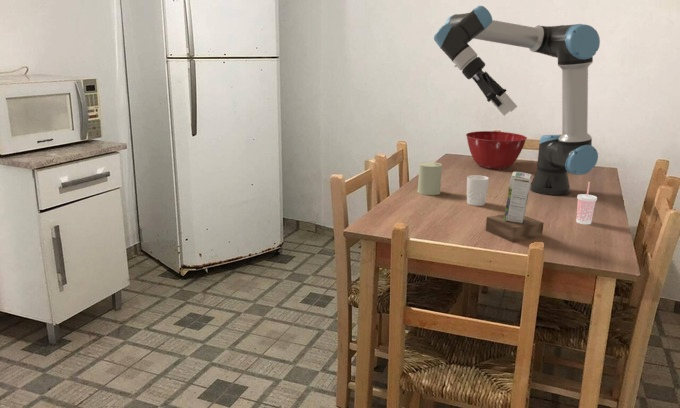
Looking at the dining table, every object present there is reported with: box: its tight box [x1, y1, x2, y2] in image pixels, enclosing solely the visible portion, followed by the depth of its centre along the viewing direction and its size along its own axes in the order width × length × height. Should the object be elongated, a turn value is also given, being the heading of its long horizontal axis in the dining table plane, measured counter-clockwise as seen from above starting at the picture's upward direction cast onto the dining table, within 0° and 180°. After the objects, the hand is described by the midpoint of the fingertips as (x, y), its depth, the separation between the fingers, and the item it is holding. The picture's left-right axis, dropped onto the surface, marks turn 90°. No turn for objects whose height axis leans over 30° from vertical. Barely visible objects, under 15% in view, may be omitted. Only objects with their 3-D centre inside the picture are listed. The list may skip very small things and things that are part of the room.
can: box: [417, 161, 443, 196], centre depth 221 cm, size 9×9×12 cm
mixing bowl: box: [465, 130, 528, 170], centre depth 271 cm, size 28×28×16 cm
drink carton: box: [504, 171, 532, 223], centre depth 169 cm, size 6×6×14 cm
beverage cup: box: [575, 181, 598, 225], centre depth 184 cm, size 6×6×14 cm
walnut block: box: [485, 213, 545, 243], centre depth 173 cm, size 12×12×5 cm
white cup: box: [466, 174, 490, 207], centre depth 206 cm, size 8×8×10 cm
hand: (511, 111), depth 186 cm, fingers open, 13 cm apart
